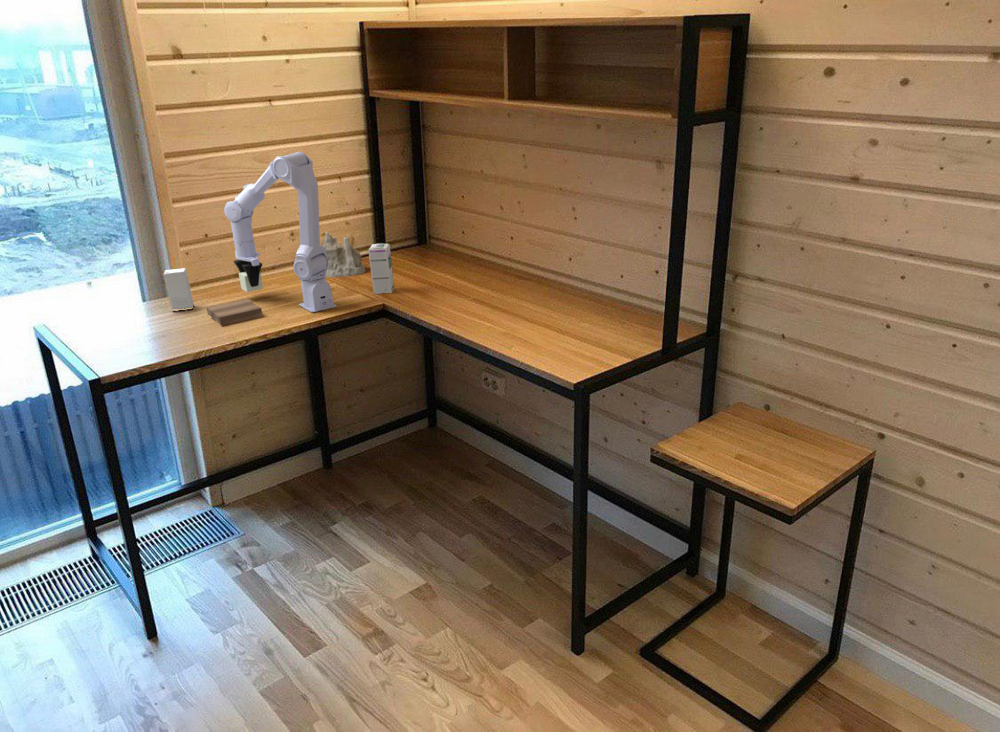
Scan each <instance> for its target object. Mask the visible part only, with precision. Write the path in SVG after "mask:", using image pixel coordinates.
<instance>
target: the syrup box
mask: <svg viewBox="0 0 1000 732" xmlns="http://www.w3.org/2000/svg"><path fill="white" fill-rule="evenodd" d="M367 251H368V256H369V265H370V267H369V268H370V273H371V275H370V276H371V283H372V290H373V295H383V294H382V293H387V294H388V293H389V295H390V293H391V294H392V293H393V292H394V289H395V281H394V271H393V262H392V253H391V246H390V243H384V242H383V243H382V242H381V243H374V244H373V243H372V244H371V246H369V248H368V250H367ZM387 294H386V295H387Z"/></svg>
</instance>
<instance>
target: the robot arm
mask: <svg viewBox="0 0 1000 732" xmlns="http://www.w3.org/2000/svg"><path fill="white" fill-rule="evenodd" d="M313 165H314V163H313V160H312V159H311V158H310V157H309V156H308V155H307V154H306V153H304V152H302V151H296V152H294V153H290V154H286V155H281V156H276V158H274V160H272V161H271V162H270V163H269V166H268V167H267V168H266V169H265V171H264V172H263V173H262V175H261V176H260V177H259V178H258V179H257V181H256V182H255V183H248V184H245V185H243V187H242V189H243V190H242V191H241V192H240V193H239V194H237V195H236V196H235V197H234V198H235V199H234V200H233V201H228V202H226V204H225V206H224V209H223V211H224V215H225V217H226V218H227V219H228V221H230V227H231V231H232V232H231V233H232V236H233V237H232V238H233V243H234V249H235V250H234V255H235V258H236V260H233V263H234V265H235V266H236V268H237V269H238V270H239V273H242V272H246V274H247V276H248V279H249V283H250V285H251V287H254V286H258V284H259V274H260V273H261V270H262V267H263V263H262V262H260V259H259V258H258V256H261V253H260V252H259V251H257V249H256V245H255V244H256V243H255V238H254V232H253V227H252V223H253V218H252V217H253V215H254V210H255V209H256V208H257V207H258V205H260V204H261V203H262V202H263V200H265V197H266V195H265V192H266V191H267V190H268V189H269V188H271V187H272V186H273V185H274V184H275V183H276V182H277V181H278V180H281V181H283V182H284V183H286V184H288V185H289V186H291V187H292V188H294V189H295V190H296V191H297V194H298V195H297V196H298V198H297V199H298V200H297V201H298V218H299V219H298V220H299V221H298V222H299V223H298V224H299V243H300V244H299V247H298V249H297V251H296V253H295V259H294V262H293V267H292V268H293V271H294V273H295V275H296V276H297V277H298V279H299V280H300V284H301V291H302V298H303V299H302V301H303V302H300V303H299V304H298V305H299V306H300V307H302V308H303V309H305V310H306V311H308V312H310V313H316V312H322V311H325V310H328V309H333V308H336V307H337V304H335V303H334V299H333V291H332V287H331V284H330V283H329V282H328V281H327V277H326V276H325V274H326V270H327V269H328V266H329V260H328V258H327V255H326V249H325V248H324V247H323V246H322V244H321V243H320V242H321V241H320V237H321V236H320V233H321V232H320V208H319V207H320V205H319V185H318V180H317V178H316V175H315V172H314V169H313V168H314V167H313Z"/></svg>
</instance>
